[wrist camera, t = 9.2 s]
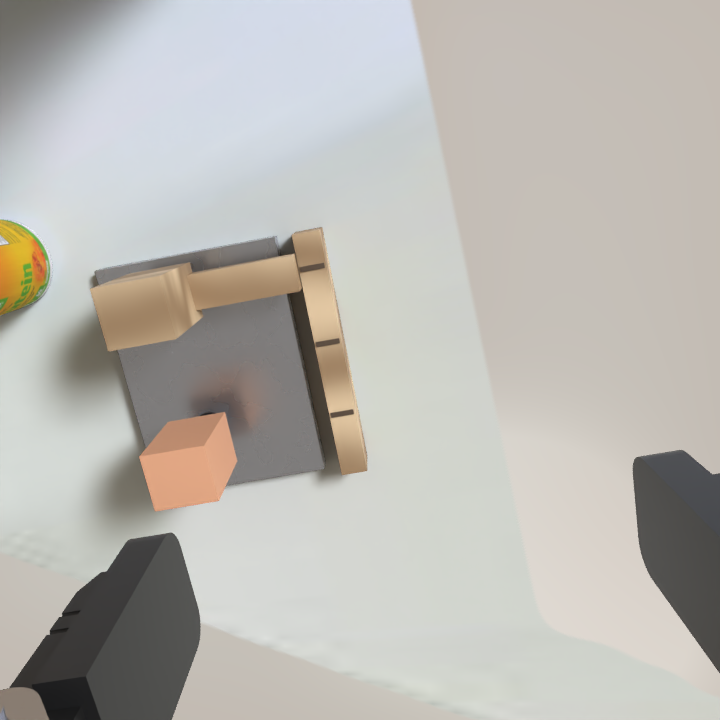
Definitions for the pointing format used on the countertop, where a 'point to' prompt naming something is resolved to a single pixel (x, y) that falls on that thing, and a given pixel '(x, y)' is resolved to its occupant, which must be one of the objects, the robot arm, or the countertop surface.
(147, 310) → the gauge rule
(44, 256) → the supplement bottle
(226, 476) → the block
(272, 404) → the bolt plate
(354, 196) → the countertop surface
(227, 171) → the countertop surface
